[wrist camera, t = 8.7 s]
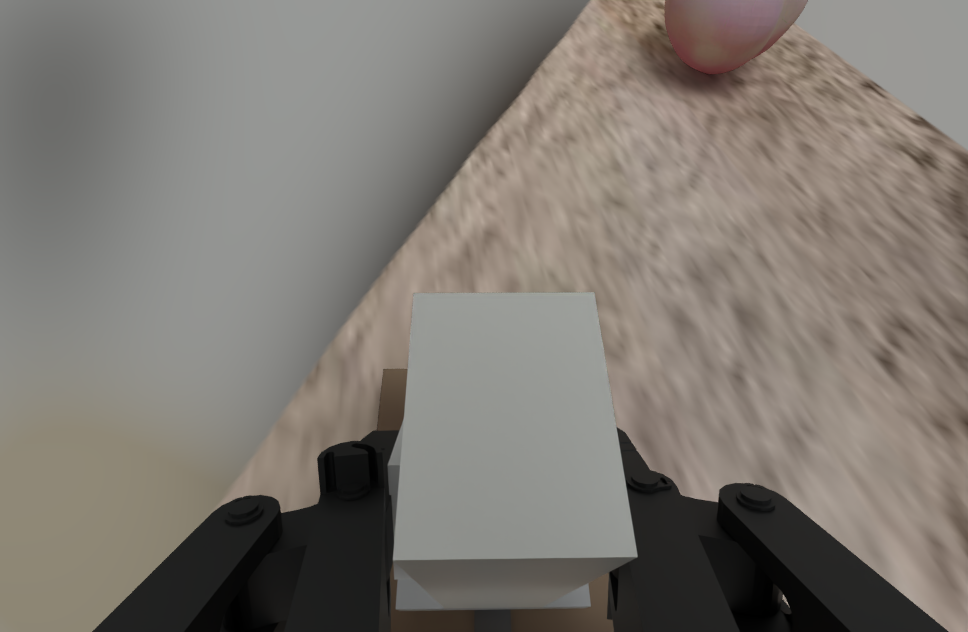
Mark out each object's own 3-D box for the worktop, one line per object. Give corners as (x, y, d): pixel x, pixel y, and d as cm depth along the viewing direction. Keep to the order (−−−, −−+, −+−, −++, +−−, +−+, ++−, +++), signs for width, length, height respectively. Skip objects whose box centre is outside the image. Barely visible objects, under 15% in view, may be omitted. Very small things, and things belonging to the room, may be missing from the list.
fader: (584, 608, 16) (759, 555, 6) (400, 611, 16) (269, 562, 6) (571, 483, 18) (684, 292, 8) (408, 484, 18) (322, 294, 8)
